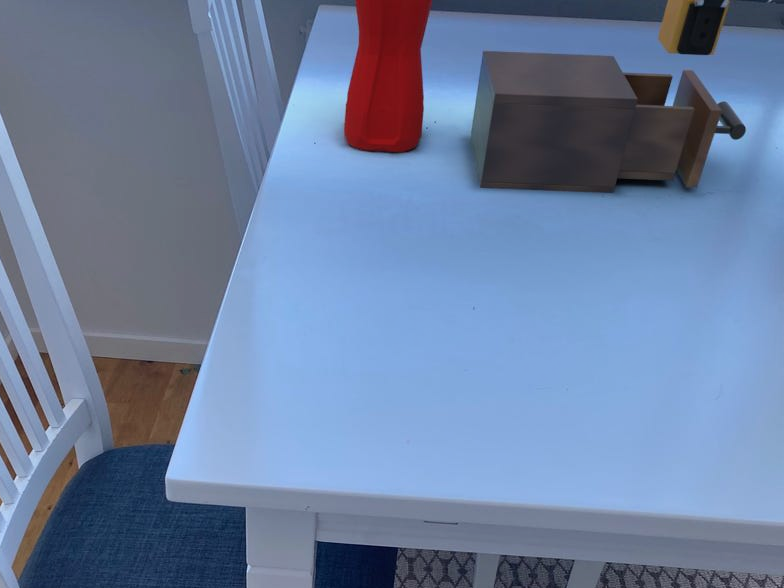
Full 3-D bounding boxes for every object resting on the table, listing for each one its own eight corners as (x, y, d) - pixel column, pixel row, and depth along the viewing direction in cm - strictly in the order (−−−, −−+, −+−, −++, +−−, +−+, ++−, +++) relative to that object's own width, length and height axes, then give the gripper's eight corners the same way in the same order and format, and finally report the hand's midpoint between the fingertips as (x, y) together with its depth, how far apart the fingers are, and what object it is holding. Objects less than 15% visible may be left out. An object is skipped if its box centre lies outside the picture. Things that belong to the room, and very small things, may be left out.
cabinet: (591, 147, 114) (613, 55, 106) (612, 195, 104) (638, 99, 97) (469, 142, 114) (483, 50, 106) (479, 190, 104) (495, 93, 97)
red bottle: (420, 124, 117) (448, -132, 99) (420, 158, 110) (450, -111, 91) (346, 119, 118) (360, -137, 99) (341, 154, 110) (355, -116, 92)
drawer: (707, 145, 112) (731, 71, 107) (735, 189, 104) (763, 112, 98) (557, 139, 113) (573, 65, 107) (574, 183, 104) (592, 105, 98)
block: (701, 40, 93) (717, -12, 90) (713, 55, 90) (730, 1, 87) (657, 38, 93) (671, -14, 90) (667, 53, 90) (683, -1, 87)
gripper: (840, -187, 72) (750, 76, 86) (772, -217, 84) (701, 20, 97) (744, -191, 72) (668, 73, 86) (688, -221, 84) (629, 17, 97)
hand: (687, 42), depth 92 cm, fingers closed on block, 4 cm apart
